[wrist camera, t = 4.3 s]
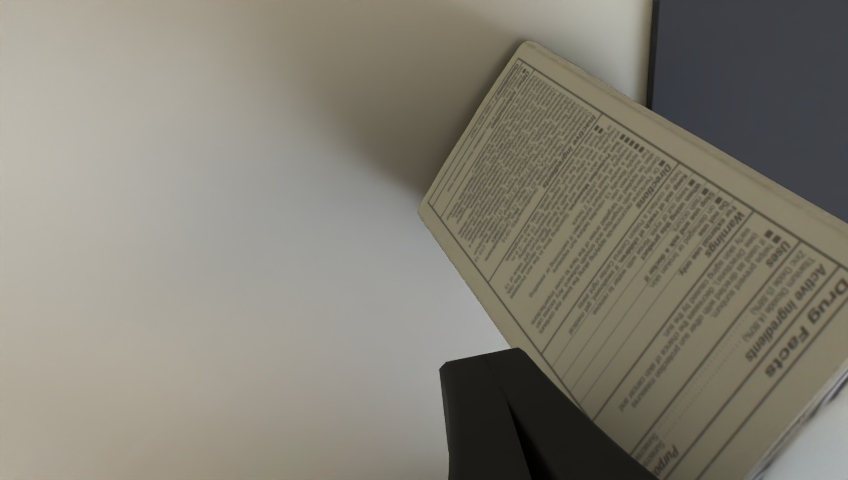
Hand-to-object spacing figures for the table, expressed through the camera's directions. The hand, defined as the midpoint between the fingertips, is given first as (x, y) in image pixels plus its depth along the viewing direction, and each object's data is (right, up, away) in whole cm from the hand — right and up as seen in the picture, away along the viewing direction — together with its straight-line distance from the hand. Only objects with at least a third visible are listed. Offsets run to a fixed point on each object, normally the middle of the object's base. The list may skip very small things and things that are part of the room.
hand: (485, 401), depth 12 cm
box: (+2, +5, +7) cm, 9 cm away
